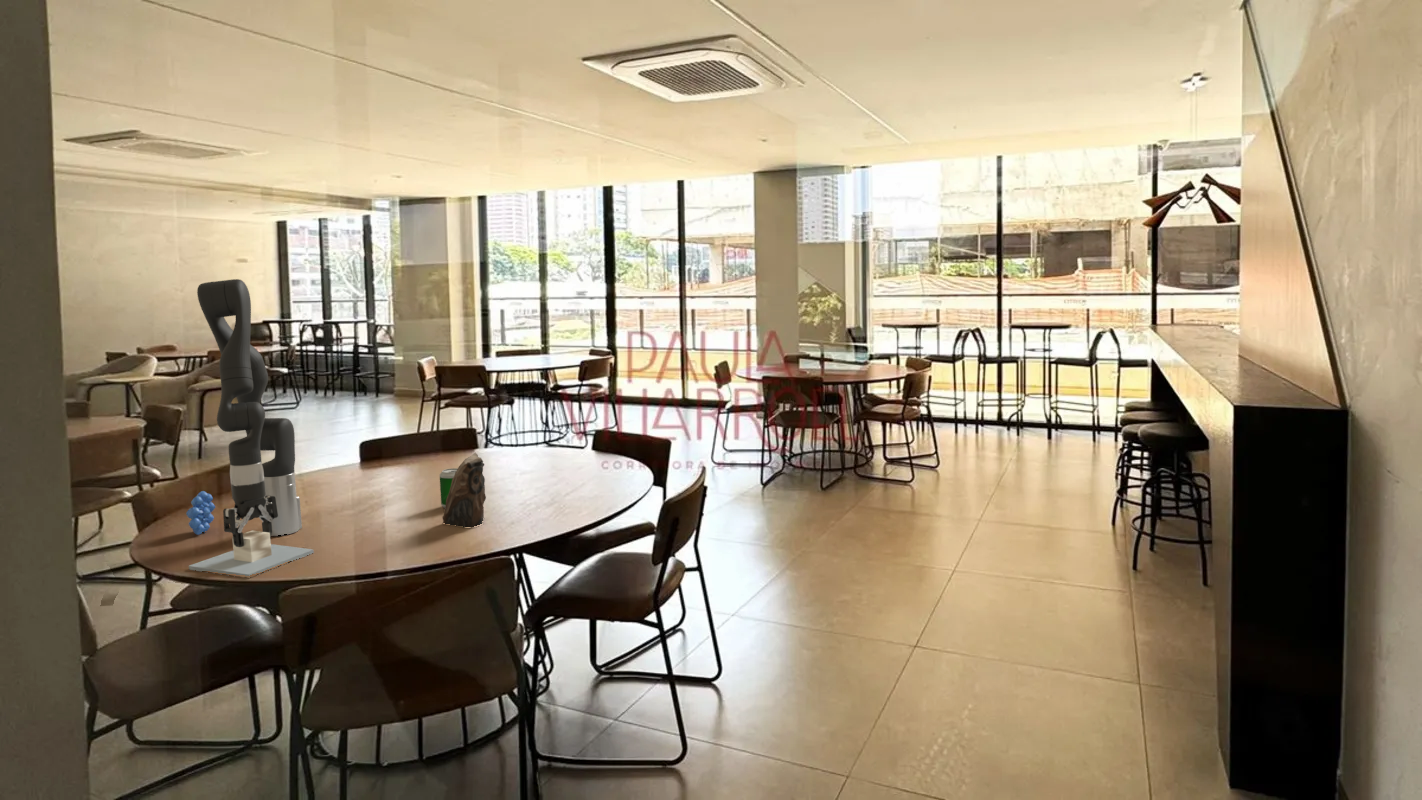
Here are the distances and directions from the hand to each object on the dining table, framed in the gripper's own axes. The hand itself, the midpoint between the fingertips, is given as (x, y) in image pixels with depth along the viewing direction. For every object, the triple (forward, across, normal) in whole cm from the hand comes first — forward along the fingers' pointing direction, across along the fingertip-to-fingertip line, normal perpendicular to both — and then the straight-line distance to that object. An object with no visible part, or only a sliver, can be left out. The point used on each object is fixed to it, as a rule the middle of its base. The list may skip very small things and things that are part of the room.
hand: (253, 541), depth 213 cm
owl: (+6, -46, +32) cm, 56 cm away
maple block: (+4, 0, 0) cm, 4 cm away
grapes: (+6, -14, -36) cm, 39 cm away
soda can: (+6, -59, +18) cm, 62 cm away
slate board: (+5, 0, 0) cm, 5 cm away
